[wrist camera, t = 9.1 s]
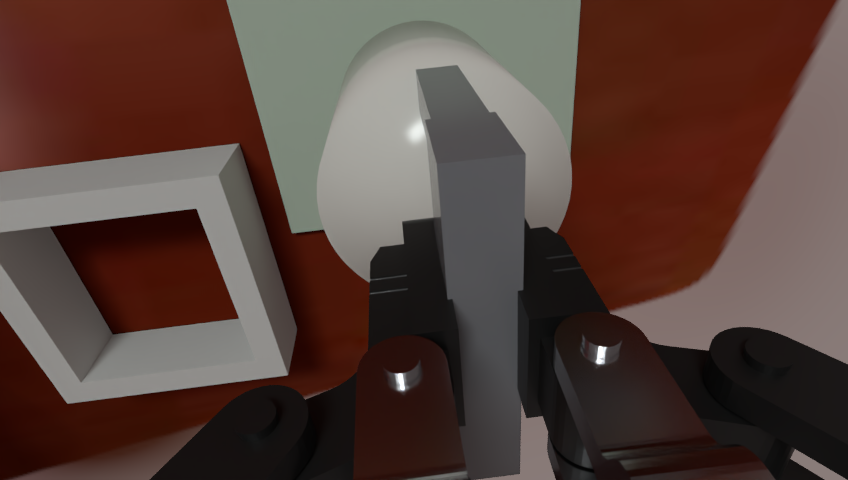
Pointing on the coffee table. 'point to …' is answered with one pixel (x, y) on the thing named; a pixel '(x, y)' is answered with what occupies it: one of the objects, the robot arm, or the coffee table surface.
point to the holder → (76, 311)
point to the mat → (346, 34)
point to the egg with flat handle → (449, 197)
